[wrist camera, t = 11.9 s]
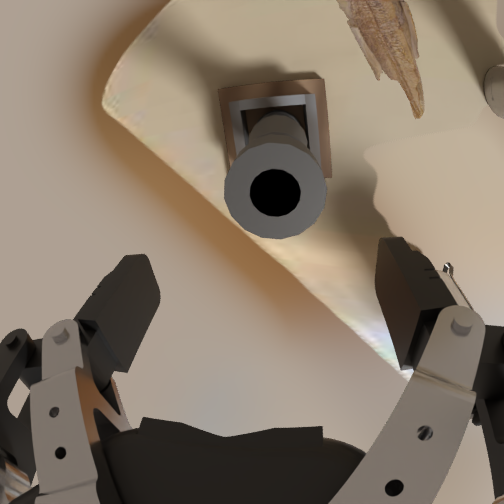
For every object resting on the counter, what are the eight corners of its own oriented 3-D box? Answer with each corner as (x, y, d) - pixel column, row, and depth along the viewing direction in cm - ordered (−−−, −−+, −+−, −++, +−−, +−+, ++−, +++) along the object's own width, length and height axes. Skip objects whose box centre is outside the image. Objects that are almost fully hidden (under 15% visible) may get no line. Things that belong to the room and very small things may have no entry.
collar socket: (322, 79, 34) (330, 77, 29) (330, 174, 41) (337, 189, 36) (220, 89, 36) (209, 89, 31) (234, 182, 43) (227, 197, 38)
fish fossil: (443, 114, 34) (446, 115, 33) (387, 130, 38) (389, 131, 37) (376, -38, 23) (378, -40, 22) (314, -24, 26) (314, -26, 25)
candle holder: (274, 100, 35) (264, 114, 14) (311, 129, 37) (354, 187, 15) (246, 135, 38) (198, 202, 17) (282, 162, 40) (283, 261, 18)
